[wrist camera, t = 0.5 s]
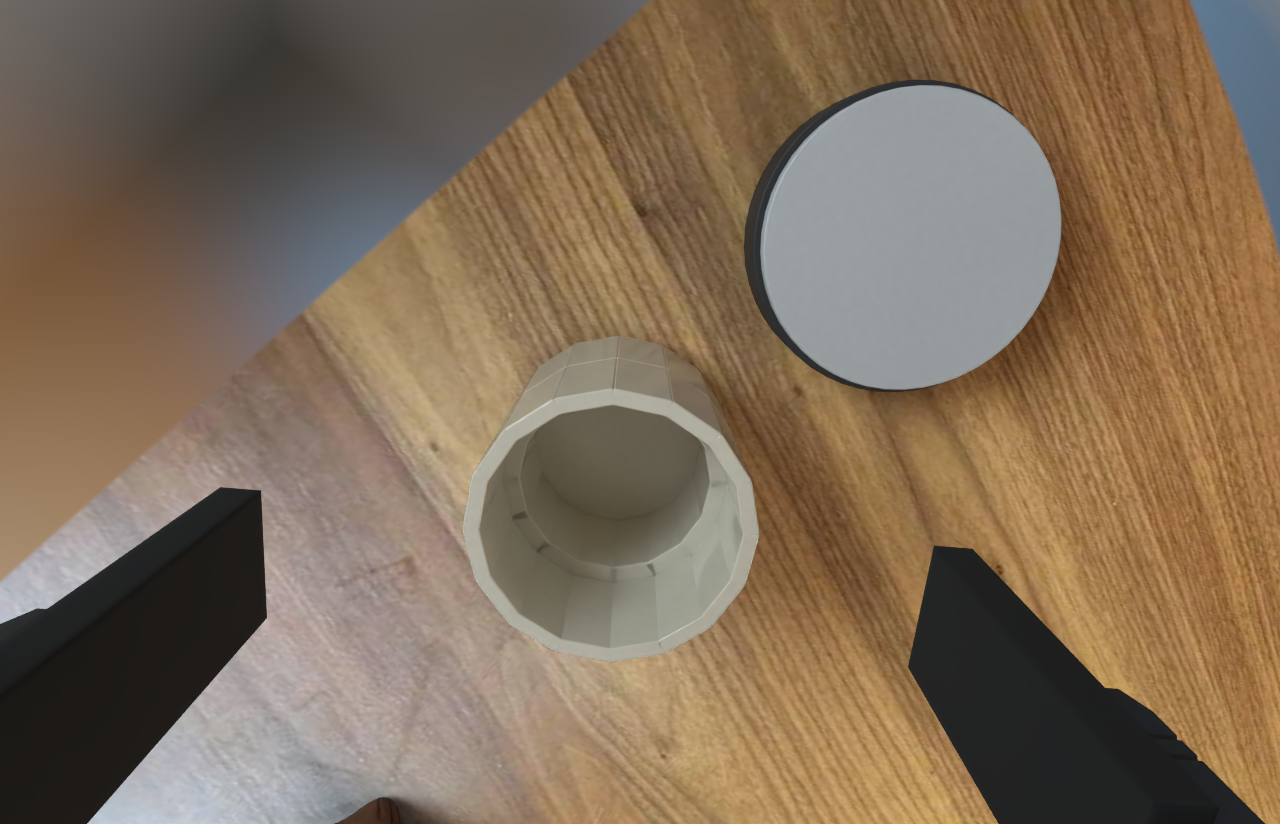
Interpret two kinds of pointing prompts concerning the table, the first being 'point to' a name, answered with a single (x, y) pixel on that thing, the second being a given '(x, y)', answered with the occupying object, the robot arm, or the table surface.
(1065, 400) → the table surface
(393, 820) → the decorative turtle
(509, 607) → the faceted beige cup
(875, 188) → the scale
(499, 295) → the table surface
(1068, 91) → the table surface
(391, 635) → the table surface
